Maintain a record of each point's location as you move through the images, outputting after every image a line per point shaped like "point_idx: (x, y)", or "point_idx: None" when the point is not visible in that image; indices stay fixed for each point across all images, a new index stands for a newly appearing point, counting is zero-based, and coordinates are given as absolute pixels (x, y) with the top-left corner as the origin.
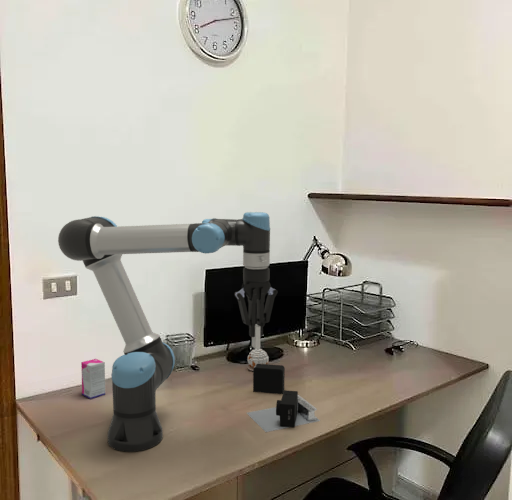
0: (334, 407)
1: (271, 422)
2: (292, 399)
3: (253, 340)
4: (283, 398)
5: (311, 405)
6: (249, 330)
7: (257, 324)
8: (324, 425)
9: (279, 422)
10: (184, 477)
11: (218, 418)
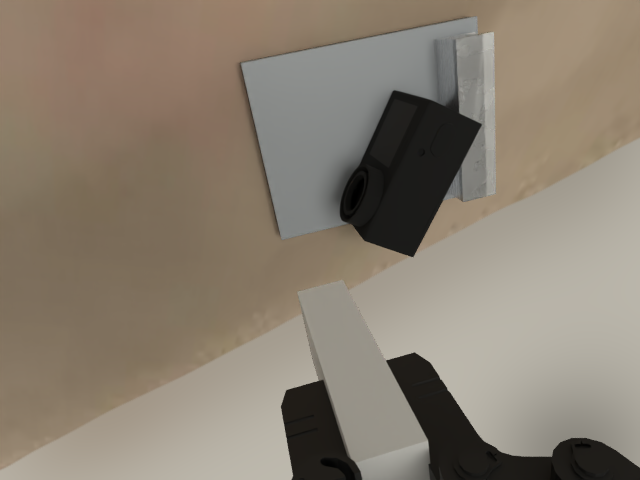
0: (587, 54)
1: (320, 173)
2: (425, 207)
3: (317, 363)
4: (394, 191)
5: (491, 162)
6: (290, 457)
7: (429, 473)
8: None
9: (347, 178)
10: (6, 413)
11: (115, 41)
